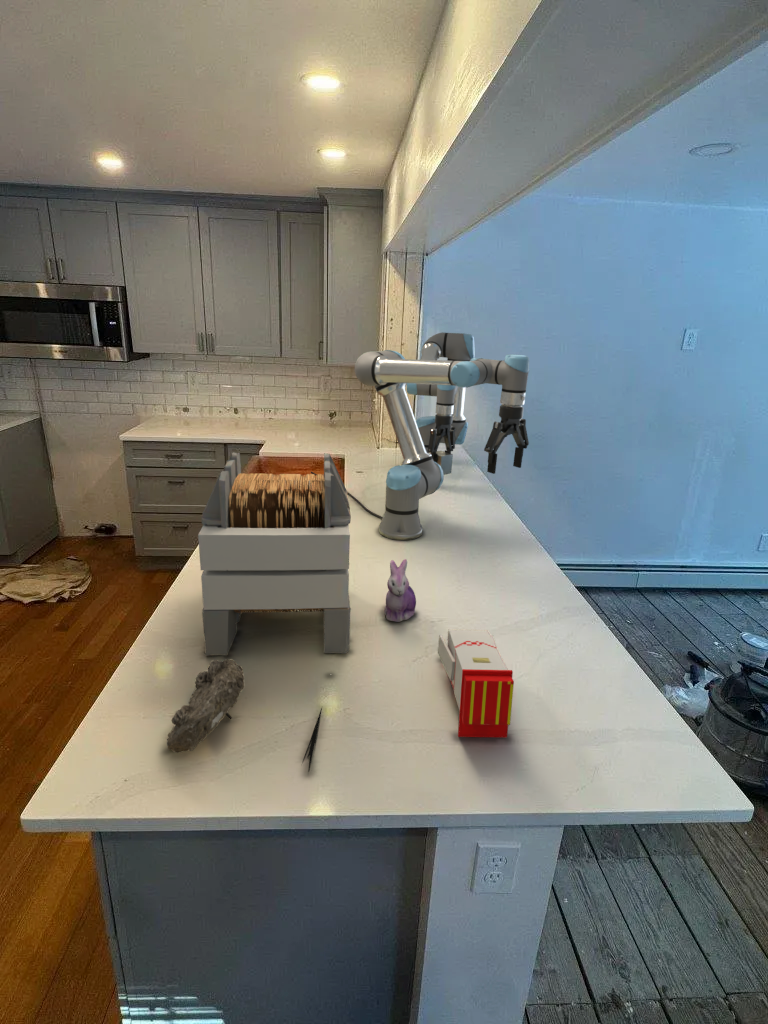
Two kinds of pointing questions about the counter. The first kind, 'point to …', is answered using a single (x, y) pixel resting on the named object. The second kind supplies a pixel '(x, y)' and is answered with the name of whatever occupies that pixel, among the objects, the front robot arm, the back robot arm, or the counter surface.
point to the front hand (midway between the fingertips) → (504, 469)
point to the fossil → (206, 705)
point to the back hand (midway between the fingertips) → (440, 466)
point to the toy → (478, 682)
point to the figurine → (399, 594)
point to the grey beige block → (445, 461)
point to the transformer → (275, 551)
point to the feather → (313, 740)
